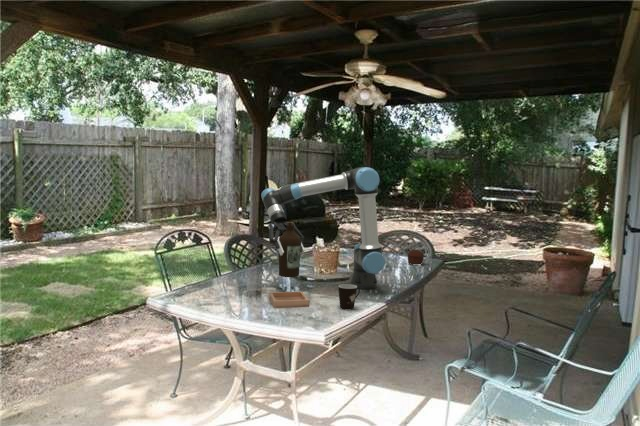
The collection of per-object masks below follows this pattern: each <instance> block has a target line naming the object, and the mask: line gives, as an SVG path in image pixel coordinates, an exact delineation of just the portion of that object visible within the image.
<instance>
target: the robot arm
mask: <svg viewBox="0 0 640 426" xmlns="http://www.w3.org/2000/svg"><path fill="white" fill-rule="evenodd" d="M378 186H380V176H379V173H378V171H376V170H375V169H374V168H372V167H368V166H367V167H365V166H364V167H363V166H361V167H360V166H359V167H356V168H354V169H351V170H347V171H342V173H341V174H337V175H330V176H326V177H322V178H321V177H320V178H316V179H311V180H305V181H300V182H295V183H289V184H284V185H282V186H281V187H280V189H278V190H277V189H276V190H275V189H274V188H272V187H268V188H265V189H264V190H263V191H262V192H261V194H260V195H261V199H262V203H263V204H264V207H265V210H266V212H267V214H268V217H269V219H270V222H271V223H269V224H268V226H267V229H268V239H269V240H268V241H269V243H270V244H272V245H273V246H275V249H277V250H278V254H279V253H280V256H282V255H283V253H284V251H283V248H282V246H281V243H280V241H279V238H280V237H279V236H280V233H285V232H286V230H287V222H288V218H287V216H286V214H285V213H286V212H285V211H284V209H283V206H282V205H284V204H287V203H290V202H293V201H295V200H298V199H300V198H302V197H307V196H312V195H317V194H322V193H327V192H334V191H338V190H343V189H345V190H346V191H348V190H354V194H355V197H357V198H358V207H359V208H358V209H359V221H360V223H359V224H360V234H361V235H360V236H361V243H358V244H355V245H354V248H353V271H352V275H351V276H350V280H349V284H351V285H356V286H357V287H359V288H360V290H361V289H362V290H369V289H370V290H372V289H376V288H378V280H377V276H376V274H378V273H380V272H381V271H382V270H383V269H384V268H385V265H386V258H385V255H383V247H382V244H381V243H380V242H379V229H378V215H377V202H376V201H377V200H376V196H377V195H378V194H379V191H378V190H379V189H378ZM274 229H275V235H274ZM294 231H295V233H296V234H297V235H298V236H299V237H300V240H301V253H300V255H303V254H304V252H305V251H306V249H305V247H304V244H305V243H304V242H303V241H304V239H305V236H304V234H302V232H301V231H300V230H299V229H298V227H297V226H296V224H295V222H294Z"/></svg>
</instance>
